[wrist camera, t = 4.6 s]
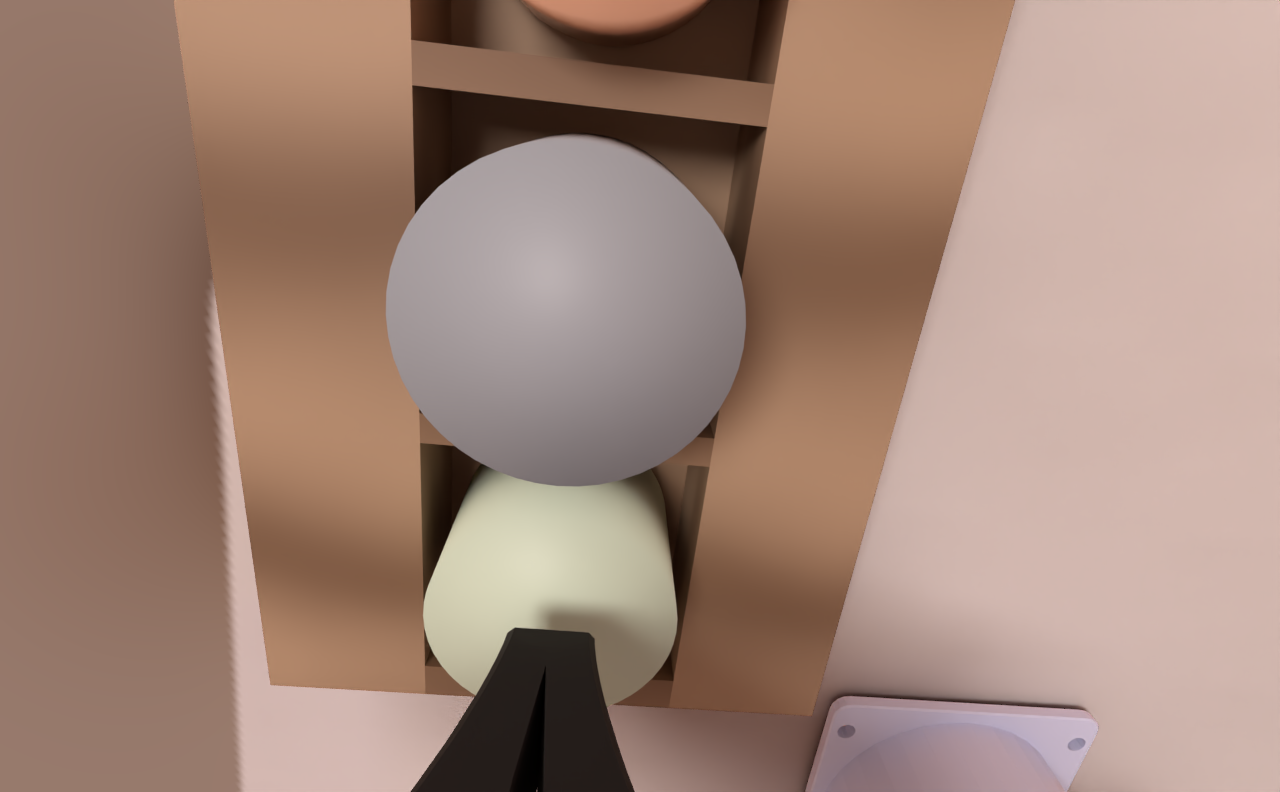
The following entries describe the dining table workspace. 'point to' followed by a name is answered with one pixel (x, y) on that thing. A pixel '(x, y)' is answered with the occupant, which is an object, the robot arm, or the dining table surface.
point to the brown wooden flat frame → (718, 178)
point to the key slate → (566, 311)
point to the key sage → (556, 576)
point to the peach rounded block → (615, 18)
